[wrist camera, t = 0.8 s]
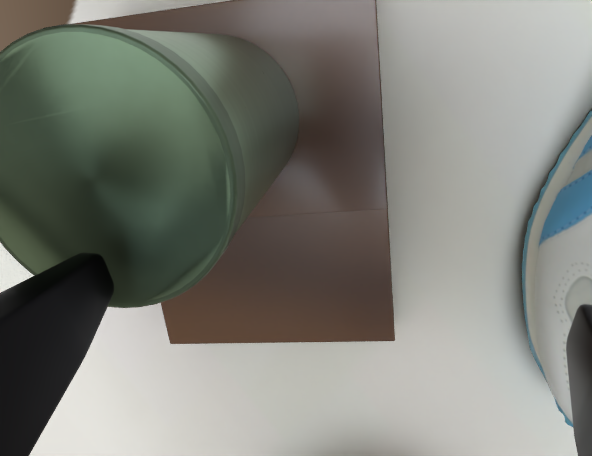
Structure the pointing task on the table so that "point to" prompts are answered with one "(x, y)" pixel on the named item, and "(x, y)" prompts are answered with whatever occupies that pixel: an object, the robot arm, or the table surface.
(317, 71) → the brown stand
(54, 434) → the table surface
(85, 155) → the tea tin
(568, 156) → the sneaker
